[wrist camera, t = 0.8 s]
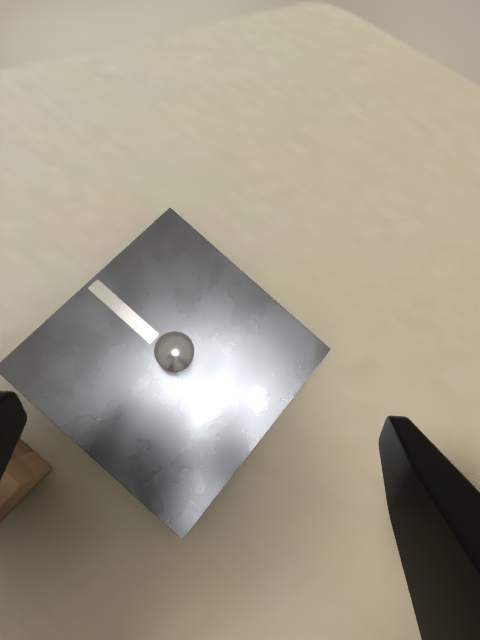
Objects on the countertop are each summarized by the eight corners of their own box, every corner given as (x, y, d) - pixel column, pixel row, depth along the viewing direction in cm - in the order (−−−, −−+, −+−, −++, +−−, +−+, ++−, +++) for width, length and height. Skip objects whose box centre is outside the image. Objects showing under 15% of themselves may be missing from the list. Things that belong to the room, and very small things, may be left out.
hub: (182, 532, 20) (182, 570, 16) (2, 369, 20) (-46, 362, 16) (324, 351, 24) (356, 340, 19) (170, 215, 24) (167, 175, 20)
